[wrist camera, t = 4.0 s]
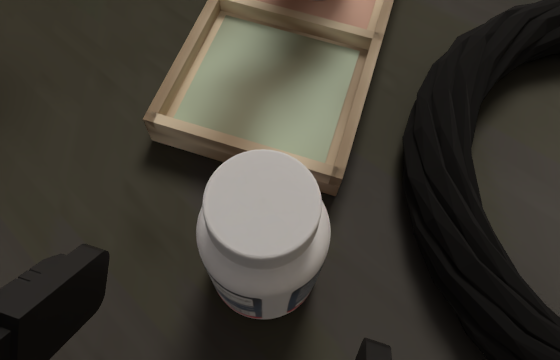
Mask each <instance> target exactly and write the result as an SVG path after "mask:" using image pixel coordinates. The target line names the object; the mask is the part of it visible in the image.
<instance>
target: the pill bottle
mask: <svg viewBox="0 0 560 360" xmlns="http://www.w3.org/2000/svg"><path fill="white" fill-rule="evenodd" d="M330 237H331V228H330V220H329V216H328V213H327V210H326V207H325V205H324V203H323V201H322V198H321V192H320V189H319V186H318V184H317V181H316V179H315V178H314V176H313V175H312V173H311V172H310V171H309V170H308V169H307V168H306V166H305V165H303V164H302V163H301V162H300V161H298V160H297V159H295V158H294V157H292V156H290V155H288V154H285V153H282V152H279V151H274V150H266V149H260V150H250V151H247V152H243V153H240V154H237V155H235V156H233V157H231V158H230V159H228V160H227V161H225V162H224V163H223V164H221V165H220V166H219V167H218V168H217V169H216V170H215V172H214V173H213V174H212V176H211V177H210V179H209V181H208V183H207V185H206V188H205V191H204V195H203V203H202V208H201V210H200V213H199V216H198V221H197V226H196V239H197V246H198V250H199V254H200V257H201V260H202V262H203V264H204V266H205V268H206V270H207V272H208V274H209V276H210V278H211V280H212V282H213V284H214V286H215V288H216V290H217V292H218V294H219V296H220V297H221V298H222V300H223V301H224V302H225V303H226V304H227V305H228V306H229V307H230V308H231V309H233V310H234V311H235V312H237V313H239V314H241V315H243V316H246V317H249V318H253V319H274V318H277V317H281V316H283V315H286V314H288V313H290V312H292V311H293V310H295V309H296V308H297V307H299V306H300V305H301V304H302V303H303V302H304V300H305V299H306V298H307V297H308V295H309V294H310V292H311V290H312V288H313V286H314V284H315V282H316V280H317V277H318V275H319V273H320V271H321V268H322V266H323V263H324V261H325V259H326V256H327V252H328V249H329V244H330Z"/></svg>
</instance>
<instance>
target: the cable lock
mask: <svg viewBox="0 0 560 360" xmlns="http://www.w3.org/2000/svg"><path fill="white" fill-rule="evenodd" d="M550 54H560V0H542V1H539V2H536V3H532V4H525V5H518V6H514V7H512V8H510V9H508V10H507V11H505V12H503V13H501V14H499V15H497V16H495V17H493V18H491V19H490V20H488V21H487V22H486V23H485V24H483V25H480V26H478V27H476V28H474V29H472V30H470V31H468V32H466V33H464V34H462V35H460V36H458V37H457V38H456V40H455V41H454V43H453V44H452V45H451V47H450V48H449V50H448V51H447V52H446V53H445V54H444V55H443V56H442V57H440V58H439V59H438V60H437V61H436V62H435V63H434V64H433V65H432V67H431V69H430V71H429V72H428V74H427V76H426V78H425V80H424V82H423V84H422V86H421V87H420V89H419V91H418V93H417V100H416V101H415V103H414V105H413V107H412V110H411V113H410V116H409V119H408V123H407V126H406V129H405V132H404V135H403V144H404V166H403V187H404V191H405V195H406V199H407V203H408V207H409V212H410V216H411V220H412V224H413V228H414V235H415V238H416V240H417V242H418V245H419V247H420V250H421V252H422V255H423V257H424V259H425V262H426V264H427V267H428V269H429V271H430V274H431V276H432V279H433V281H434V283H435V284H436V286H437V287H438V288H439V290H440V291H441V292H442V294H443V295H444V297H445V298H446V299H447V301H448V302H449V303H450V305H451V306H452V308H453V309H454V310H455V312H456V313H457V315H458V317H459V319H460V322H461V324H462V326H463V328H464V330H465V332H466V333H467V335H468V336H469V337H470V338H471V339H472V340H473V342H474V343H475V344H476V345H477V346H478V347H479V349H480V350H481V351H482V352H483V353H484V354H485V356H486V357H487V358H488V359H489V360H560V317H558V316H557V315H556V314H555V313H554V312H553V311H552V310H551V309H549V308H548V307H547V306H546V305H545V304H544V303H543V301H542V300H541V299H540V298H539V297H538V296H537V295H536V293H535V292H534V291H533V290H532V289H531V288H530V287H529V285H528V284H527V283H526V282H525V281H524V280H523V279H522V277H521V276H520V275H519V273H518V271H517V270H516V268H515V266H514V265H513V263H512V261H511V260H510V258H509V256H508V255H507V253H506V251H505V250H504V248H503V246H502V245H501V243H500V241H499V240H498V238H497V236H496V235H495V233H494V231H493V229H492V227H491V225H490V223H489V221H488V219H487V216H486V214H485V212H484V210H483V207H482V202H481V198H480V193H479V188H478V184H477V179H476V174H475V170H474V165H473V160H472V154H471V147H472V142H473V137H474V132H475V127H476V122H477V117H478V111H479V108H480V105H481V103H482V102H483V100H484V98H485V97H486V95H487V93H488V92H489V90H490V89H491V88H492V86H493V85H494V84H495V83H496V82H497V81H499V80H500V79H501V78H503V77H504V76H505V75H507V74H508V73H509V72H511V71H512V70H513V69H515V68H516V67H517V66H519V65H520V64H522V63H525V62H528V61H531V60H534V59H538V58H541V57H544V56H547V55H550Z"/></svg>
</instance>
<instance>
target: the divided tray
mask: <svg viewBox="0 0 560 360" xmlns="http://www.w3.org/2000/svg"><path fill="white" fill-rule="evenodd" d="M393 1H394V0H322V1H314V0H208V1H207V3H206V5H205V6H204V8H203V10H202V12H201V14H200V16H199V17H198V19H197V21H196V23H195V25H194V26H193V28H192V30H191V32H190V34H189V36H188V37H187V39H186V41H185V43H184V45H183V47H182V48H181V50H180V52H179V54H178V56H177V57H176V59H175V61H174V63H173V65H172V67H171V68H170V70H169V72H168V74H167V76H166V78H165V79H164V81H163V83H162V85H161V87H160V89H159V90H158V92H157V94H156V96H155V98H154V99H153V101H152V103H151V105H150V107H149V109H148V110H147V112H146V114H145V116H144V118H143V121H144V123H145V126H146V128H147V130H148V132H149V135H150V137H151V139H152V140H153V141H156V142H159V143H162V144H166V145H169V146H172V147H175V148H179V149H182V150H185V151H189V152H192V153H195V154H198V155H202V156H205V157H208V158H211V159H215V160H218V161H221V162H225V161H227V160H228V159H230V158H231V157H233V156H235V155H237V154H240V153H243V152H247V151H250V150H260V149H266V150H274V151H279V152H282V153H285V154H288V155H290V156H292V157H294V158H295V159H297V160H298V161H300V162H301V163H302V164H303V165H305V166H306V168H307V169H308V170H309V171H310V172H311V173H312V175H313V176H314V178H315V179H316V181H317V184H318V186H319V189H320V192H323V193H326V194H329V195H333V196H336V195H337V192H338V189H339V187H340V184H341V181H342V179H343V175H344V172H345V168H346V165H347V161H348V158H349V154H350V151H351V147H352V144H353V140H354V137H355V133H356V130H357V127H358V123H359V120H360V116H361V113H362V109H363V106H364V102H365V99H366V95H367V92H368V88H369V85H370V81H371V78H372V74H373V71H374V67H375V64H376V60H377V57H378V54H379V50H380V47H381V43H382V40H383V36H384V33H385V29H386V26H387V22H388V19H389V15H390V12H391V8H392V5H393Z"/></svg>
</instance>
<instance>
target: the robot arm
mask: <svg viewBox="0 0 560 360" xmlns="http://www.w3.org/2000/svg"><path fill="white" fill-rule="evenodd" d="M108 265H109V252H108V251H106V250H103V249H100V248H97V247H94V246H91V245H87V244H82V245H80V246H79V247H77V248H76V249H75V250H73V251H72V252H70V253H69V254H68V255H64V254H59V255H56V256H53V257H50V258H47V259H44V260H42V261H40V262H39V263H38V264H36V265H35V266H33V267H32V268H30V270H29V271H26V272H24V273H23V274H21V275H20V276H18V279H14V280H13V281H11V282H10V283H8V284H7V285H5V286H4V287H2V288H1V289H0V360H49V359H50V358H51V357H52V356H53V355H54V354H55V353H56V352H57V351H58V350H59V349H60V348H61V347H62V346H63V345H64V344H65V343H66V342H67V341H68V340H69V339H70V338H71V337H72V336H73V335H74V334H75V333H76V332H77V331H78V330H79V329H80V328H81V327H82V326H83V325H84V324H85V323H86V322H87V321H88V320H89V319H90V318H91V317H92V316H93V315H94V314H95V313H96V312H97V310H98V309H99V307H100V305H101V303H102V301H103V298H104V295H105V289H106V281H107V273H108ZM355 360H392V355H391V347H390V346H389V345H386V344H383V343H380V342H377V341H374V340H371V339H368V338H364V339H363V341H362V343H361V346H360V348H359V351H358V354H357V356H356V359H355Z"/></svg>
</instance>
